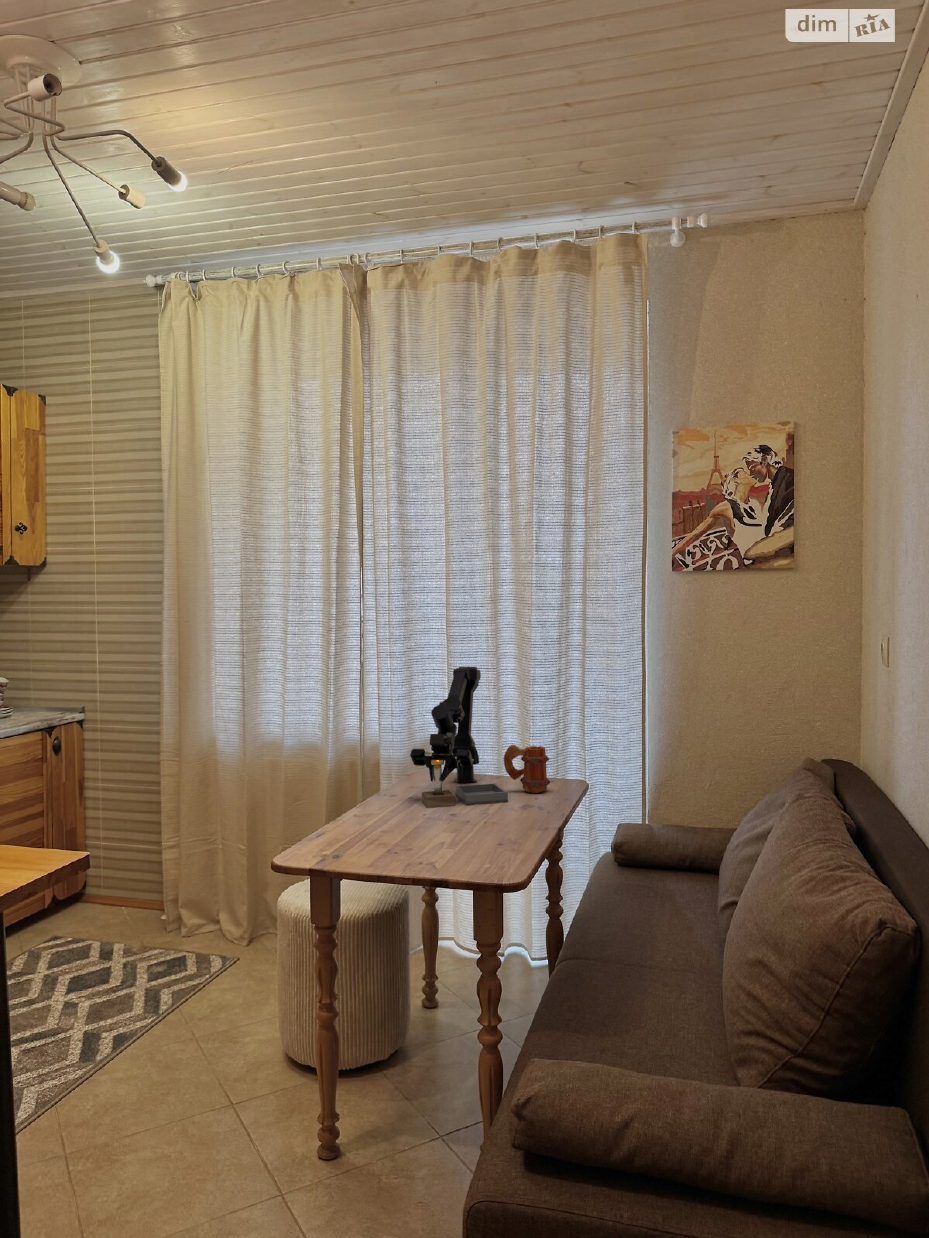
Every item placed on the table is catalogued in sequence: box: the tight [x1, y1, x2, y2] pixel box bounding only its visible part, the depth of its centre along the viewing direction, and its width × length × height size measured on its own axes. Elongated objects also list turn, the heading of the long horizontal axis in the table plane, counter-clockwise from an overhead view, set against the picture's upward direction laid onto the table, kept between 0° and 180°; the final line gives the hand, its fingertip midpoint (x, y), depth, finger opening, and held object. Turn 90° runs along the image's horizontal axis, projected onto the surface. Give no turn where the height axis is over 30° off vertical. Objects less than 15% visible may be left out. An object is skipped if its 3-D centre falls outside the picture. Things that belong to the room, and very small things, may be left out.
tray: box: [455, 783, 509, 806], centre depth 282 cm, size 14×13×3 cm
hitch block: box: [421, 789, 456, 809], centre depth 277 cm, size 8×8×3 cm
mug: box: [503, 744, 551, 794], centre depth 290 cm, size 15×8×15 cm, turn 84°
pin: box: [431, 759, 445, 795], centre depth 276 cm, size 4×4×13 cm
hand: (436, 780), depth 275 cm, fingers closed on pin, 3 cm apart
